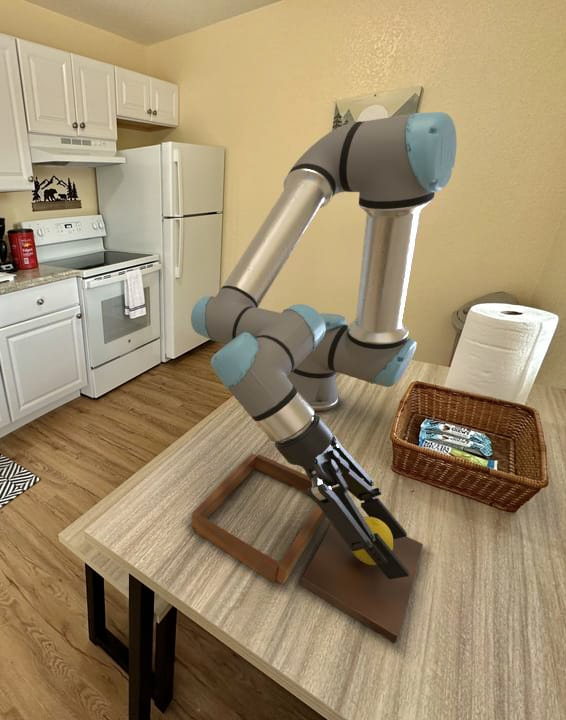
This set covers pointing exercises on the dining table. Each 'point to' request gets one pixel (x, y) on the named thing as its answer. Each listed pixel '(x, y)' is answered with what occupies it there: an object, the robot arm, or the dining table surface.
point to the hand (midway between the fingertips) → (398, 554)
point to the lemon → (382, 531)
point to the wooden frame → (239, 547)
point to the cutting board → (363, 583)
